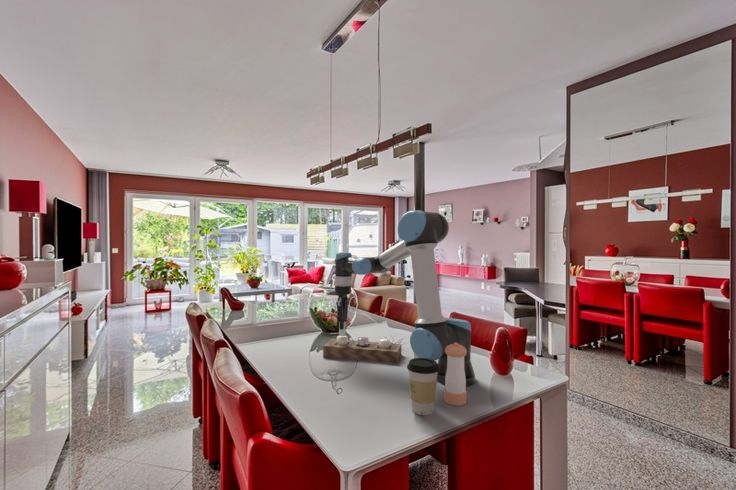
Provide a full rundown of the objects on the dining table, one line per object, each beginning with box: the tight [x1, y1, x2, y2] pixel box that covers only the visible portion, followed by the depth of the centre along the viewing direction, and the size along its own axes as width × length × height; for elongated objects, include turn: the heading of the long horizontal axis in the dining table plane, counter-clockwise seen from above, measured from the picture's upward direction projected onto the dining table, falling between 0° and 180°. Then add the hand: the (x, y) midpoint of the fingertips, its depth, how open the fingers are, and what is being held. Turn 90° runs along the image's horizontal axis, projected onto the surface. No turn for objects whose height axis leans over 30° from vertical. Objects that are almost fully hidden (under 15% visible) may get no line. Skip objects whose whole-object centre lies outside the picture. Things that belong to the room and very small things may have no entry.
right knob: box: [378, 338, 391, 349], centre depth 163 cm, size 5×5×5 cm
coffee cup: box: [406, 357, 439, 416], centre depth 111 cm, size 10×10×15 cm
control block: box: [322, 338, 402, 364], centre depth 166 cm, size 34×13×5 cm, turn 77°
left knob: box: [336, 335, 349, 346], centre depth 168 cm, size 5×5×5 cm
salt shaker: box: [443, 342, 468, 406], centre depth 118 cm, size 7×7×19 cm
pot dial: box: [357, 336, 369, 347], centre depth 166 cm, size 5×5×5 cm
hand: (342, 335), depth 168 cm, fingers closed
